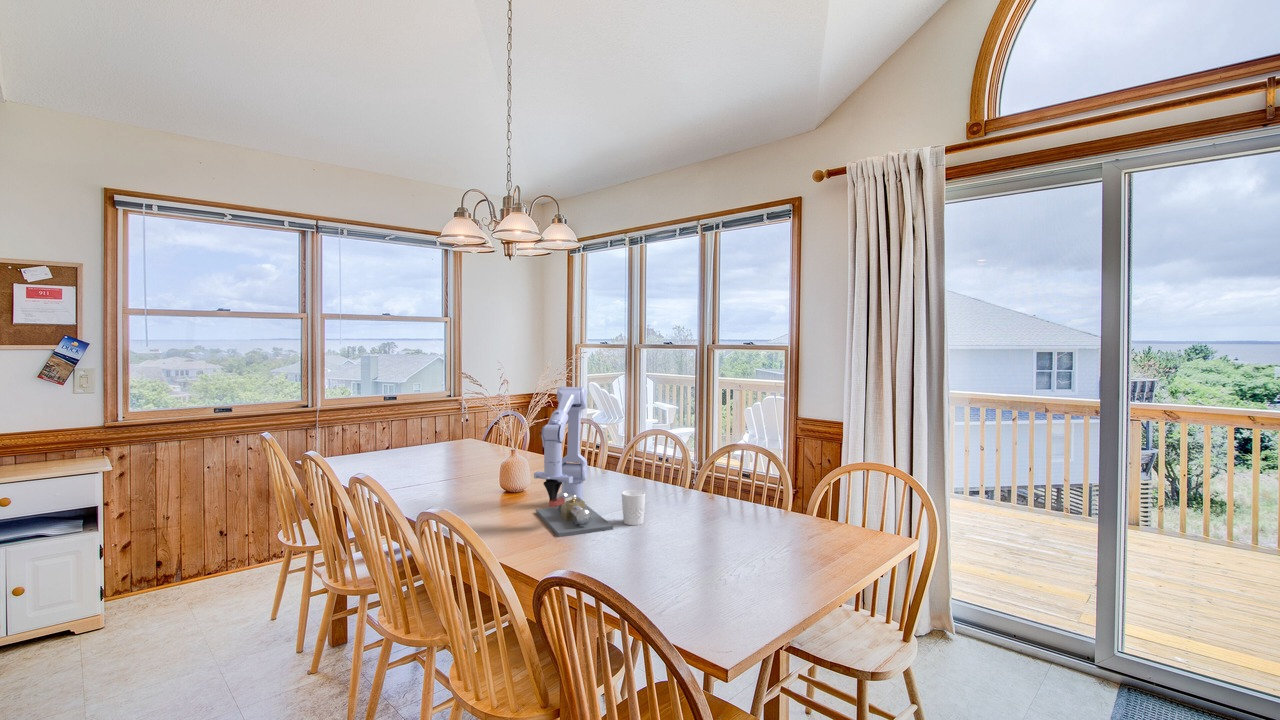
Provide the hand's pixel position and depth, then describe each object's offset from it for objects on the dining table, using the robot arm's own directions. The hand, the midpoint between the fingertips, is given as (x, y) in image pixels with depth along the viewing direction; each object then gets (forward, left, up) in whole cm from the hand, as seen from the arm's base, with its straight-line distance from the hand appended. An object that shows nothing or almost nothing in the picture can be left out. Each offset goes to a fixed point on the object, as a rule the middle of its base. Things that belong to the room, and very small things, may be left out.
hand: (553, 502), depth 189 cm
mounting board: (-3, +8, -8) cm, 11 cm away
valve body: (-3, +8, -7) cm, 11 cm away
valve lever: (0, +4, 0) cm, 4 cm away
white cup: (+7, +26, -8) cm, 28 cm away
